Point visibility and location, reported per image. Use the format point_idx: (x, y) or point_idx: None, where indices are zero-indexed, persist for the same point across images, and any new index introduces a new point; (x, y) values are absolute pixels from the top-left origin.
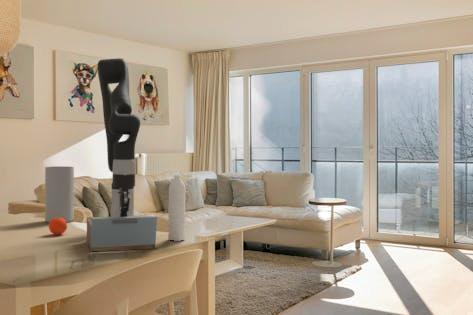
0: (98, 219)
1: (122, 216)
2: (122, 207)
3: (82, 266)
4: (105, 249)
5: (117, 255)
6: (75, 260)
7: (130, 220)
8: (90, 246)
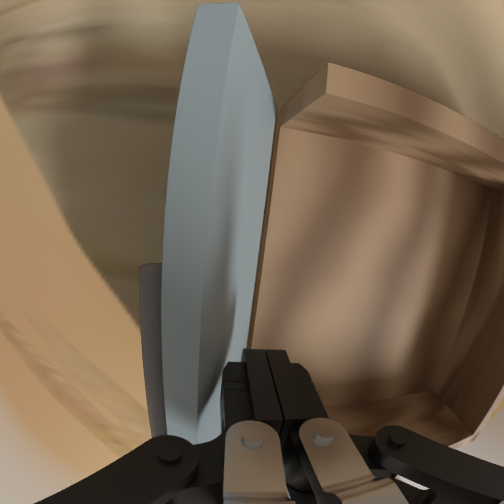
0: (187, 84)
1: (224, 406)
2: (89, 484)
3: (6, 73)
4: (268, 191)
5: (136, 230)
6: (106, 35)
7: (151, 424)
8: (284, 107)
